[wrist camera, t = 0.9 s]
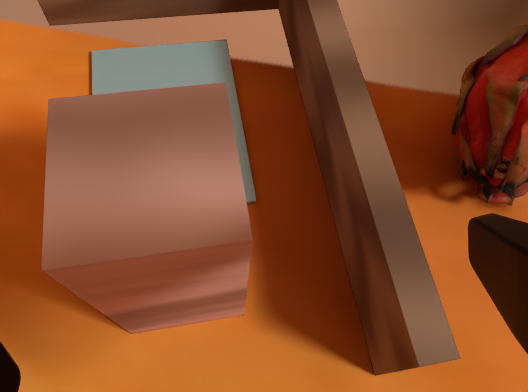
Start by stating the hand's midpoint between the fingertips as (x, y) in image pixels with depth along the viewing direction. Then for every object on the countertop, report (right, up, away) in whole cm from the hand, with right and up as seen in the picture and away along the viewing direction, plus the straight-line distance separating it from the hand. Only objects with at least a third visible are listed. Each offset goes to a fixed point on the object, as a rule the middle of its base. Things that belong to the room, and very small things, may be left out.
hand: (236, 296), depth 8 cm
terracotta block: (-3, -2, +12) cm, 13 cm away
